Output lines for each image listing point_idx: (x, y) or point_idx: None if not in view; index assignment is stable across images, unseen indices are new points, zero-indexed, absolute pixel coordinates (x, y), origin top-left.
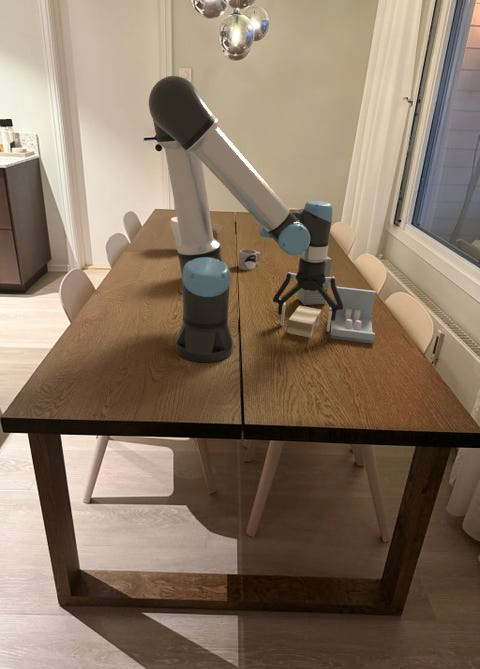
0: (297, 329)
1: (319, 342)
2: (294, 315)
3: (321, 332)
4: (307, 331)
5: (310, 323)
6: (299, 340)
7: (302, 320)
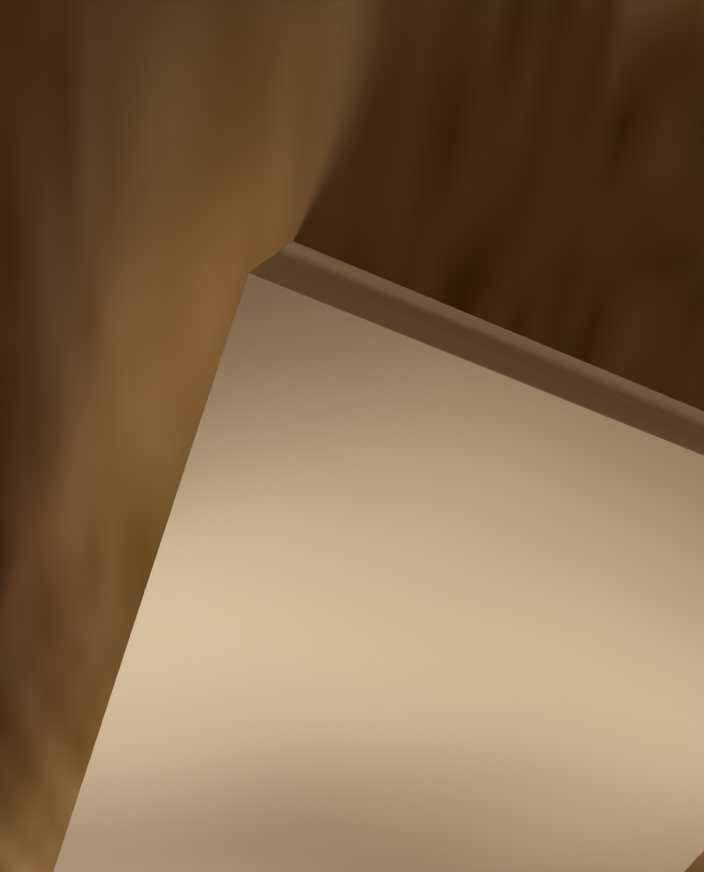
0: (586, 375)
1: (107, 13)
2: (676, 802)
3: (71, 490)
4: (366, 287)
5: (303, 352)
6: (546, 75)
7: (536, 550)
